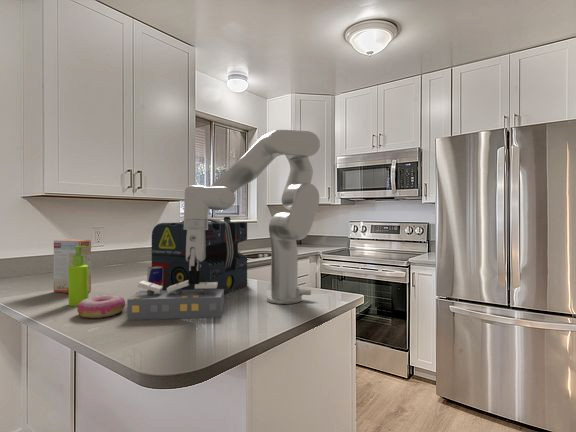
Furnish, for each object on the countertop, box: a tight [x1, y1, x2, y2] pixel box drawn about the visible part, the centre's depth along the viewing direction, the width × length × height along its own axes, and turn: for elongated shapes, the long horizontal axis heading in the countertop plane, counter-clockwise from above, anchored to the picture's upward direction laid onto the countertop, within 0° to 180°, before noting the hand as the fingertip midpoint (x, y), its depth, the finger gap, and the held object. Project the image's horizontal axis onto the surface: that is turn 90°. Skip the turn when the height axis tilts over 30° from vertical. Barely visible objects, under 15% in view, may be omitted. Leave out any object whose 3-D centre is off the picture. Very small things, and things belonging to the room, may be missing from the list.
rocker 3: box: [195, 282, 218, 289], centre depth 113 cm, size 7×4×1 cm, turn 96°
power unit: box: [151, 216, 248, 295], centre depth 147 cm, size 28×28×30 cm
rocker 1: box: [137, 280, 163, 293], centre depth 111 cm, size 7×4×1 cm, turn 96°
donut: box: [76, 294, 126, 319], centre depth 111 cm, size 14×13×5 cm
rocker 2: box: [167, 280, 189, 292], centre depth 112 cm, size 7×4×1 cm, turn 96°
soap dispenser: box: [68, 246, 92, 307], centre depth 124 cm, size 6×7×20 cm
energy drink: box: [146, 266, 163, 291], centre depth 127 cm, size 5×5×12 cm
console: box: [126, 288, 225, 321], centre depth 112 cm, size 27×12×8 cm, turn 96°
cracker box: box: [53, 239, 92, 294], centre depth 142 cm, size 14×6×21 cm, turn 69°
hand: (194, 283), depth 112 cm, fingers closed
